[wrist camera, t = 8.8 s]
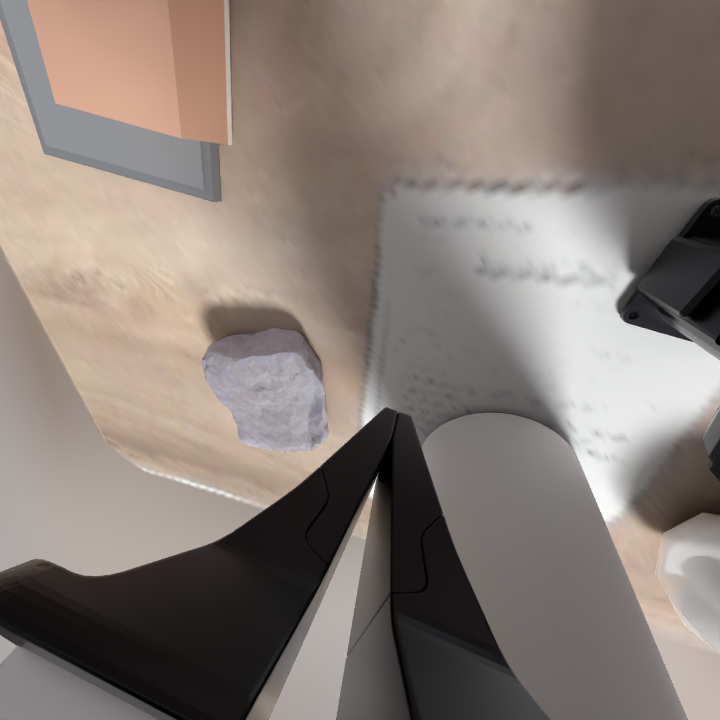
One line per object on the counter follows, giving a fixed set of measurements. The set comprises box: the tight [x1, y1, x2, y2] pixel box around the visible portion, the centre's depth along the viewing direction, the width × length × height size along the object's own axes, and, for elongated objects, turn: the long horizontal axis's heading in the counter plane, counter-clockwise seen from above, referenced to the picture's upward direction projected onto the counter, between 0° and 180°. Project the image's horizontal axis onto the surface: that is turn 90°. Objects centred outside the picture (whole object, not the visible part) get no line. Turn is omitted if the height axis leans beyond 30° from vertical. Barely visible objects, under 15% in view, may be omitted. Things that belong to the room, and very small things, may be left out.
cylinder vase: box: [422, 413, 688, 720], centre depth 16 cm, size 12×12×25 cm
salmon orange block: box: [27, 0, 232, 145], centre depth 14 cm, size 4×9×8 cm
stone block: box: [202, 328, 329, 452], centre depth 27 cm, size 12×5×10 cm
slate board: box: [0, 0, 221, 202], centre depth 17 cm, size 14×16×1 cm
